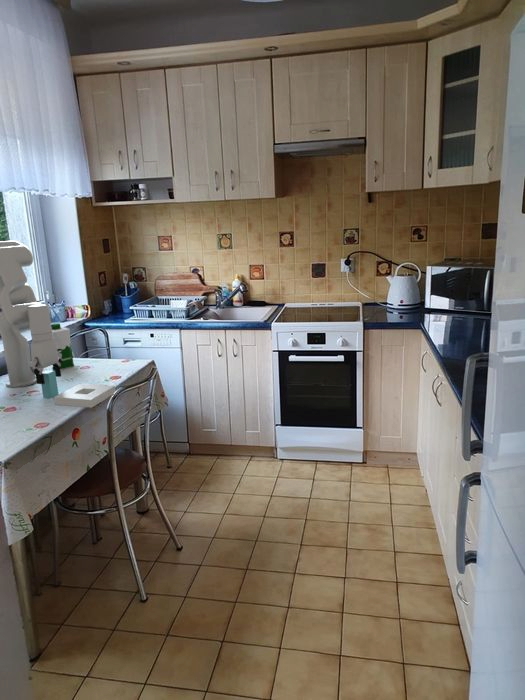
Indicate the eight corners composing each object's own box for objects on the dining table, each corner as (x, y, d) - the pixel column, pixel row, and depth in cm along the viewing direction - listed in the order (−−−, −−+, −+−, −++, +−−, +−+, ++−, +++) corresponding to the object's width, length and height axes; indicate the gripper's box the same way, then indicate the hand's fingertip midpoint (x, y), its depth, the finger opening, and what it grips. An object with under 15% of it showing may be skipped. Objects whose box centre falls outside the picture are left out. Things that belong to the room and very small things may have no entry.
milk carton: (67, 362, 254) (62, 322, 249) (76, 366, 248) (71, 324, 243) (50, 367, 248) (43, 325, 243) (59, 370, 242) (52, 327, 237)
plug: (50, 394, 210) (46, 370, 207) (58, 394, 209) (55, 370, 206) (43, 397, 206) (39, 373, 204) (51, 398, 205) (48, 373, 202)
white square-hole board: (89, 385, 218) (88, 378, 217) (123, 388, 213) (123, 381, 213) (54, 404, 198) (53, 397, 197) (91, 407, 193) (90, 399, 192)
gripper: (49, 332, 210) (55, 373, 214) (18, 342, 194) (25, 386, 198) (65, 332, 208) (71, 374, 212) (34, 342, 192) (42, 387, 196)
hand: (49, 380), depth 205 cm, fingers open, 9 cm apart
